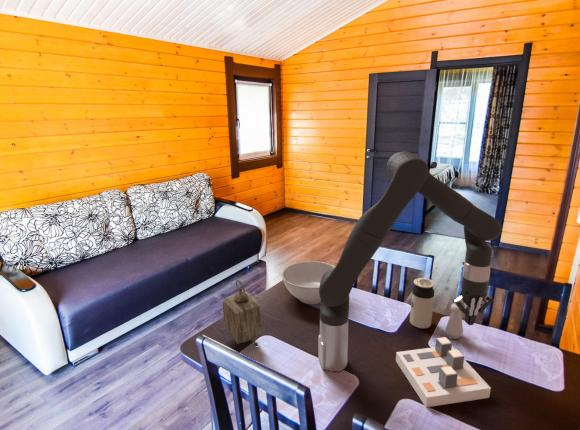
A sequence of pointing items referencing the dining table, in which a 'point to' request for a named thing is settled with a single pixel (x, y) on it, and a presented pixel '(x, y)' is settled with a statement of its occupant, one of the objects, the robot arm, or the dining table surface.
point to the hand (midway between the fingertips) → (469, 323)
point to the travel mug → (422, 303)
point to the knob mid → (455, 359)
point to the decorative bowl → (305, 280)
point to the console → (425, 375)
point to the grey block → (448, 377)
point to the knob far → (443, 346)
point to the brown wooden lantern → (242, 316)
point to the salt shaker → (455, 323)
